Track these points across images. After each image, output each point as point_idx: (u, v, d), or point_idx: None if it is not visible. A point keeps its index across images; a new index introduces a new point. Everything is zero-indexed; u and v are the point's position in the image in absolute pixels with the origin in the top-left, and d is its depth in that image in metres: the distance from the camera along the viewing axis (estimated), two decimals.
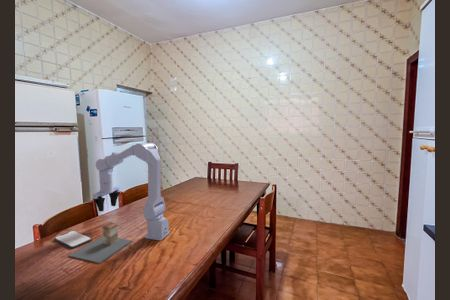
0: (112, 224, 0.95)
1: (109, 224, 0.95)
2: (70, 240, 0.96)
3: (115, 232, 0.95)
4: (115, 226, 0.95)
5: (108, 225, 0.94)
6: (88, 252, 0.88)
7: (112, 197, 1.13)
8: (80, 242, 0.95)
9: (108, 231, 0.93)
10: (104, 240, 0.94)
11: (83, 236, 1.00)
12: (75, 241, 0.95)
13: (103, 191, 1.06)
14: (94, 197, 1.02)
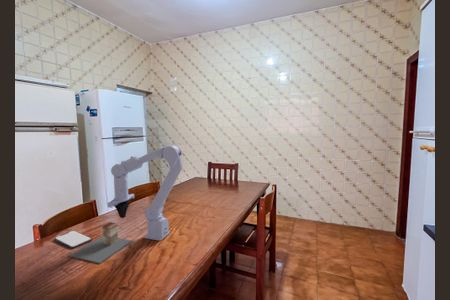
0: (112, 224, 0.95)
1: (109, 224, 0.95)
2: (70, 240, 0.96)
3: (115, 232, 0.95)
4: (115, 226, 0.95)
5: (108, 225, 0.94)
6: (88, 252, 0.88)
7: None
8: (80, 242, 0.95)
9: (108, 231, 0.93)
10: (104, 240, 0.94)
11: (83, 236, 1.00)
12: (75, 241, 0.95)
13: (118, 199, 0.98)
14: (109, 206, 0.94)
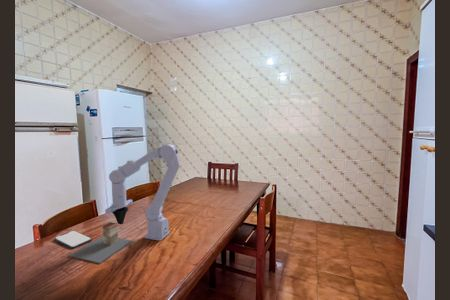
0: (112, 224, 0.95)
1: (109, 224, 0.95)
2: (70, 240, 0.96)
3: (115, 232, 0.95)
4: (115, 226, 0.95)
5: (108, 225, 0.94)
6: (88, 252, 0.88)
7: None
8: (80, 242, 0.95)
9: (108, 231, 0.93)
10: (104, 240, 0.94)
11: (83, 236, 1.00)
12: (75, 241, 0.95)
13: (116, 205, 0.97)
14: (107, 212, 0.93)
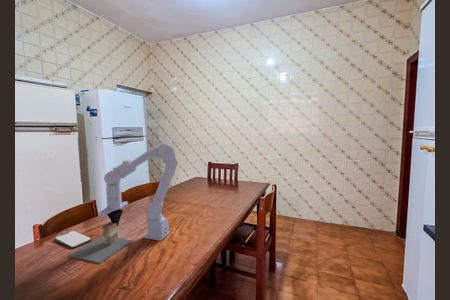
0: (112, 224, 0.95)
1: (109, 224, 0.95)
2: (70, 240, 0.96)
3: (115, 232, 0.95)
4: (115, 226, 0.95)
5: (108, 225, 0.94)
6: (88, 252, 0.88)
7: None
8: (80, 242, 0.95)
9: (108, 231, 0.93)
10: (104, 240, 0.94)
11: (83, 236, 1.00)
12: (75, 241, 0.95)
13: (111, 207, 0.94)
14: (101, 215, 0.90)
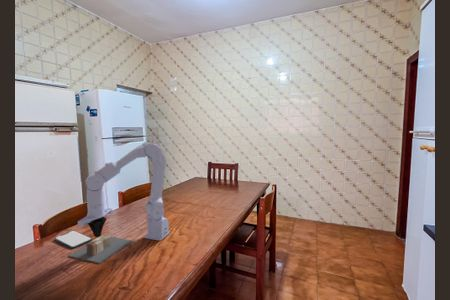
0: (92, 248, 0.86)
1: (89, 249, 0.86)
2: (71, 240, 0.96)
3: (101, 243, 0.89)
4: (96, 246, 0.86)
5: (90, 251, 0.86)
6: None
7: None
8: (80, 242, 0.95)
9: None
10: None
11: (83, 236, 1.00)
12: (75, 241, 0.95)
13: (92, 216, 0.85)
14: (80, 224, 0.81)
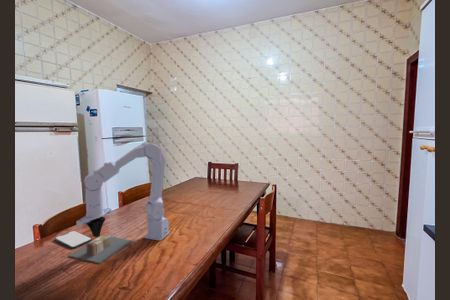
0: (92, 248, 0.86)
1: (89, 249, 0.86)
2: (71, 240, 0.96)
3: (101, 243, 0.89)
4: (96, 246, 0.86)
5: (90, 251, 0.86)
6: None
7: None
8: (80, 242, 0.95)
9: None
10: None
11: (83, 236, 1.00)
12: (75, 241, 0.95)
13: (90, 216, 0.85)
14: (78, 224, 0.81)
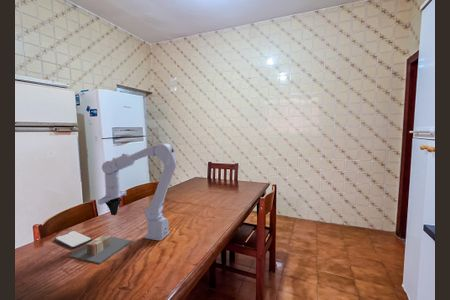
0: (92, 248, 0.86)
1: (89, 249, 0.86)
2: (71, 240, 0.96)
3: (101, 243, 0.89)
4: (96, 246, 0.86)
5: (90, 251, 0.86)
6: None
7: None
8: (80, 242, 0.94)
9: None
10: None
11: (83, 236, 1.00)
12: (75, 241, 0.95)
13: (109, 196, 0.98)
14: (100, 203, 0.94)
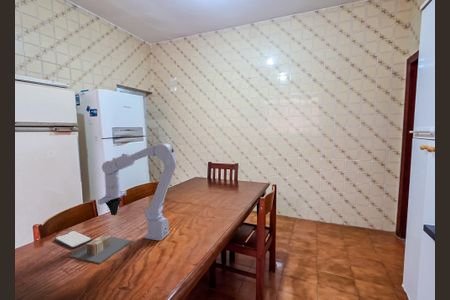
0: (92, 248, 0.86)
1: (89, 249, 0.86)
2: (71, 240, 0.96)
3: (101, 243, 0.89)
4: (96, 246, 0.86)
5: (90, 251, 0.86)
6: None
7: None
8: (80, 242, 0.94)
9: None
10: None
11: (83, 236, 1.00)
12: (75, 241, 0.95)
13: (109, 196, 0.98)
14: (100, 203, 0.94)
